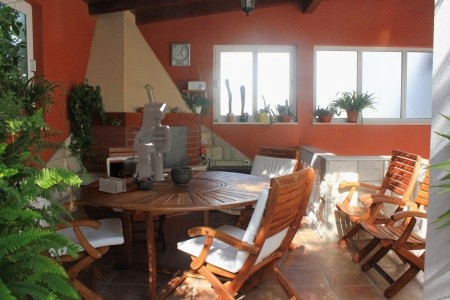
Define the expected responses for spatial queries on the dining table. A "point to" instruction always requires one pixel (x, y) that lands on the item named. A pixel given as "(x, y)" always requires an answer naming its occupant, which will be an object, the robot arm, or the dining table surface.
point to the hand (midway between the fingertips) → (144, 185)
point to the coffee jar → (116, 168)
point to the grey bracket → (144, 184)
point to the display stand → (112, 185)
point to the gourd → (130, 165)
